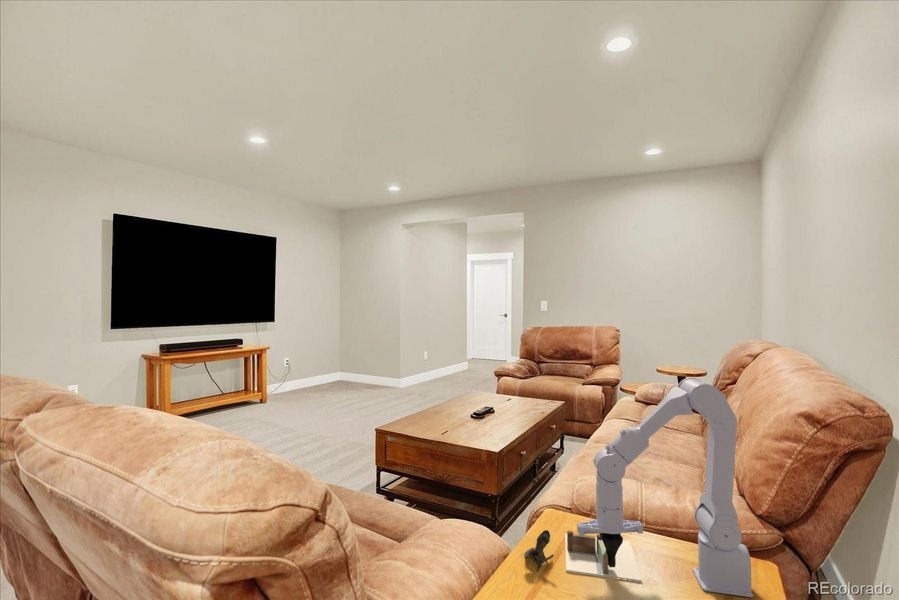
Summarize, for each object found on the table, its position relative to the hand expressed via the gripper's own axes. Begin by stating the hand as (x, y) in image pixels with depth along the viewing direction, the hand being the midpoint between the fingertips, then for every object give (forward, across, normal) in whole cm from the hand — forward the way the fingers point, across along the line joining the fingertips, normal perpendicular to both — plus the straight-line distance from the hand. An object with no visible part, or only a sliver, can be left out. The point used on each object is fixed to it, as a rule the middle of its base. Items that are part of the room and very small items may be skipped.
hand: (610, 564), depth 101 cm
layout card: (+2, 0, -6) cm, 6 cm away
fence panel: (+1, +1, -2) cm, 2 cm away
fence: (+1, +3, -8) cm, 8 cm away
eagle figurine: (+2, +15, -5) cm, 16 cm away
